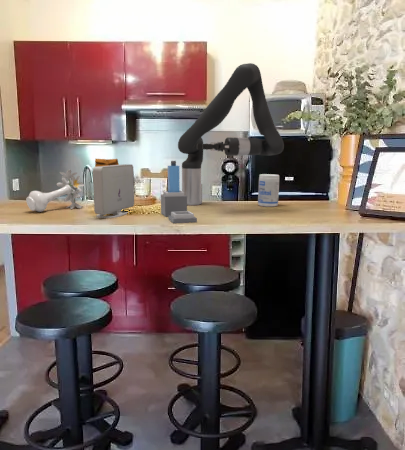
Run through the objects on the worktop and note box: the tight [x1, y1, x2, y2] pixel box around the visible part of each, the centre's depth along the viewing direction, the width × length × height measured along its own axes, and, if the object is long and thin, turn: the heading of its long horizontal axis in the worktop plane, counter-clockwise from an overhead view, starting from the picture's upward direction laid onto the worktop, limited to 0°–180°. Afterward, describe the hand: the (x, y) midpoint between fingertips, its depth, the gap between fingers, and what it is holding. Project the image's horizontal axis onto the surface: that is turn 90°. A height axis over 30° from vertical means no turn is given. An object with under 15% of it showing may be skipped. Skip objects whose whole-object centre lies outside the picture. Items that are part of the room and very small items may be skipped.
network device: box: [92, 163, 135, 219], centre depth 176 cm, size 26×9×20 cm, turn 161°
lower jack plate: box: [167, 210, 198, 224], centre depth 163 cm, size 9×9×3 cm
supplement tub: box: [257, 173, 280, 208], centre depth 204 cm, size 10×10×15 cm
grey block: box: [160, 190, 188, 218], centre depth 177 cm, size 9×9×10 cm
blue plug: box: [167, 160, 181, 193], centre depth 175 cm, size 4×4×14 cm
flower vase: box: [25, 169, 85, 213], centre depth 189 cm, size 13×18×25 cm
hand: (199, 146), depth 176 cm, fingers open, 8 cm apart
